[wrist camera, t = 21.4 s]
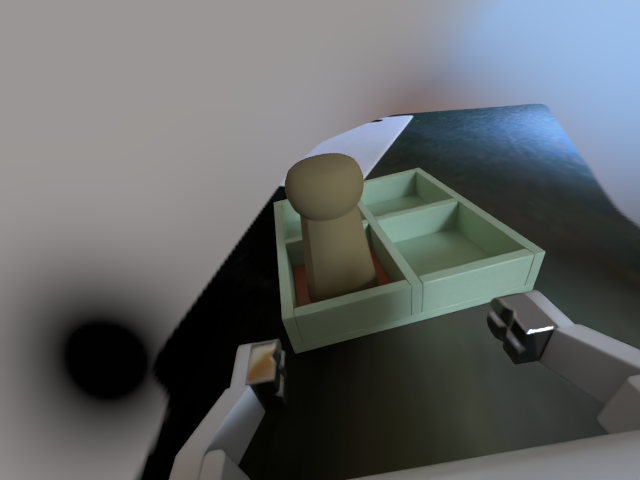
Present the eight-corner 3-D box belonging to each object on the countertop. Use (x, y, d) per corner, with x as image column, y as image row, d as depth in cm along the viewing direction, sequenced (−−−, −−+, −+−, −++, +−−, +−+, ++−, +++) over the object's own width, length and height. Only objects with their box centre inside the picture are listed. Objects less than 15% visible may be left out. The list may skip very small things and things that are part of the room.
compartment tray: (295, 354, 20) (281, 320, 18) (281, 228, 35) (273, 202, 33) (532, 291, 21) (546, 251, 19) (418, 195, 36) (419, 167, 34)
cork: (352, 254, 27) (335, 139, 21) (394, 289, 22) (389, 153, 16) (296, 281, 25) (260, 164, 19) (329, 326, 20) (295, 189, 14)
